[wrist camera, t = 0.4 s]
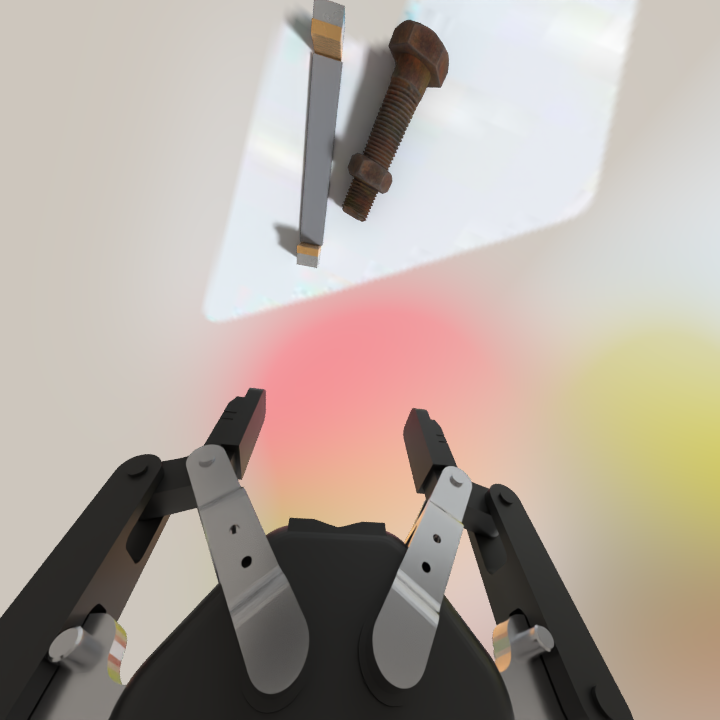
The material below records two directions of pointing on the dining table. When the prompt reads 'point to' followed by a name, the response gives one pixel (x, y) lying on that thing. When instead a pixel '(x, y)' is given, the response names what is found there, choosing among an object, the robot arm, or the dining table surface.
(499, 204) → the dining table surface
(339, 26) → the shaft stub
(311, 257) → the small wooden block
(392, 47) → the bolt
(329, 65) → the pad
